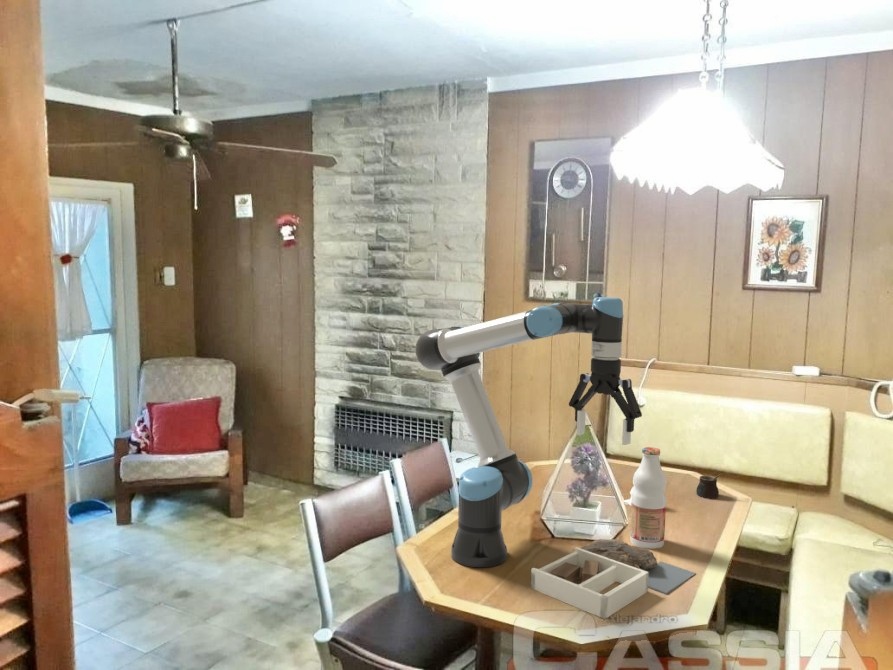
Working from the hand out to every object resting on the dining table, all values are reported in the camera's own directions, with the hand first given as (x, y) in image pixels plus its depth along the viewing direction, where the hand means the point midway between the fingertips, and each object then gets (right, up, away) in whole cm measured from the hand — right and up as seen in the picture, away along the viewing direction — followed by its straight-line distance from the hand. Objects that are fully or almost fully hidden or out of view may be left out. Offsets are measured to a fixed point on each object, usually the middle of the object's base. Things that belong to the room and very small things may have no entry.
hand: (602, 439), depth 183 cm
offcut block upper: (-6, -33, -4) cm, 34 cm away
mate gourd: (+49, -30, +59) cm, 82 cm away
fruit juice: (+17, -33, +20) cm, 42 cm away
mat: (+15, -35, -2) cm, 38 cm away
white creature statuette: (+22, -30, +49) cm, 62 cm away
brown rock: (+14, -33, -1) cm, 35 cm away
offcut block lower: (-11, -36, -5) cm, 37 cm away
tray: (-5, -36, -9) cm, 37 cm away
